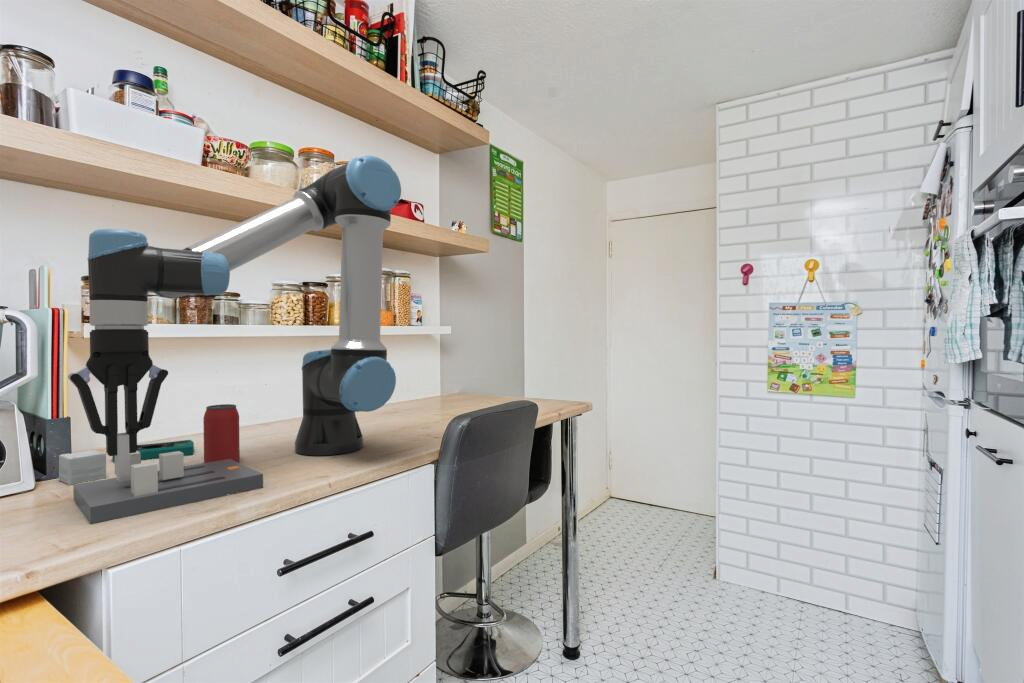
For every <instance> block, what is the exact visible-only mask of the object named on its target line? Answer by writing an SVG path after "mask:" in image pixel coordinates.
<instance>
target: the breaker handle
mask: <svg viewBox="0 0 1024 683" xmlns="http://www.w3.org/2000/svg"><path fill="white" fill-rule="evenodd" d="M184 457H185V456H183V453H182V452H180V451H176V452H169V453H162V454H159V458H158V471H159V477H160V478H161V479H162V480H166V479H172V478H178V477H183V476H184V466H185V465H184V462H185V461H184V460H185V459H184Z"/></svg>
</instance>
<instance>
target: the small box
mask: <svg viewBox="0 0 1024 683" xmlns="http://www.w3.org/2000/svg"><path fill="white" fill-rule="evenodd" d="M70 453H71V454H70ZM70 453H62V454H59V456H58V481H59V482H60V481H61V482H63V483H65V484H67V485H69V486H73V485H75V484H78V483H79V484H81V483H83V482H84V483H87V482H88V481H89V482H94V481H100V480H105V479H107V452H106V453H105V452H103V451H99V450H95V449H92V450H91V449H90V450H85V451H84V450H83V451H77V452H70Z"/></svg>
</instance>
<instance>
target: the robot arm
mask: <svg viewBox="0 0 1024 683" xmlns="http://www.w3.org/2000/svg"><path fill="white" fill-rule="evenodd" d="M401 196H402V186H401V180H400V178H399V176H398V174H397V172H396V171H394V169H393V168H392V166H391V165H390V163H388V162H387V161H385V160H384V159H382V158H380V157H378V156H374V155H364V156H361V157H354V158H352V159H351V160H350V161H349V162H347V163H344V164H343V165H340V166H338V167H335V168H334V169H332V170H329V171H327V172H326V173H325V174H323V175H322V176H320V177H319V178H318V179H316V180H315V181H313V182H312V183H310V184H308V185H307V186H305V187H303V188H301V189H299V190H297V191H295V192H294V194H293V196H292V198H291V199H289V200H287V201H285V202H282V203H280V204H278V205H275V206H273V207H272V208H269V209H267V210H265V211H263V212H260V213H258V214H256V215H255V216H252V217H250V218H248V219H245V220H243V221H241V222H239V223H236V224H234V225H232V226H231V227H228V228H226V229H224V230H222V231H219V232H217V233H215V234H213V235H211V236H208V237H206V238H204V239H202V240H200V241H198V242H195V243H193V244H191V245H189V246H187V247H185V248H183V249H177V248H175V249H173V248H162V247H155V246H152V245H150V246H149V243H148V241H147V240H148V239H147V238H148V237H147V236H146V235H145V234H143V233H141V232H139V231H133V230H131V231H130V230H128V229H119V228H118V229H116V228H101V229H100V228H99V229H96V230H94V231H93V232H91V233H89V236H88V257H87V258H86V259H87V268H88V269H87V270H88V271H87V272H88V294H89V297H88V298H89V299H88V300H89V325H90V326H92V327H93V326H94V329H91V330H90V331H89V358H88V359H87V361H86V364H85V367H83V368H81V369H80V370H78V371H77V372H71V373H69V375H68V380H69V381H70V382H71V383H72V384H73V385H74V387H76V388H77V391H78V395H79V398H80V401H81V404H82V407H83V409H84V412H85V415H86V418H87V421H88V424H89V427H90V429H91V431H92V432H94V434H98V435H99V434H100V435H104V436H105V445H106V448H105V449H106V450H105V451H106V455H108V456H109V457H112V456H115V463H114V475H117V476H118V477H121V476H127V475H130V455H129V453H136V451H137V445H138V433H139V432H140V431H142V430H144V429H147V428H150V426H151V425H152V420H153V417H154V414H155V409H156V406H157V402H158V399H159V395H160V390H161V387H162V383H163V382H164V381H165V379H166V378H167V377H168V375H169V371H168V370H167V369H163V368H161V367H158V366H156V365H154V364H153V360H152V358H151V356H150V353H149V352H150V350H149V331H148V330H147V329H145V327H148V325H149V308H148V307H149V306H148V305H149V304H148V302H149V298H148V296H149V295H148V294H149V293H153V294H155V295H156V296H159V297H160V298H165V299H166V298H167V299H172V300H174V299H179V298H180V297H186V296H191V295H204V296H210V295H211V296H217V295H218V296H219V295H223V294H225V293H226V292H227V290H228V288H229V285H230V284H229V283H230V279H231V278H230V275H231V271H233V270H235V269H237V268H240V267H241V266H243V265H245V264H247V263H249V262H251V261H253V260H255V259H257V258H259V257H260V256H263V255H265V254H267V253H268V252H271V251H272V250H274V249H277V248H279V247H282V245H284V244H287V243H289V242H290V241H292V240H295V239H296V238H299V237H300V236H302V235H304V234H306V233H308V232H311V231H314V232H320V231H322V230H324V229H326V228H329V227H332V226H334V225H338V226H339V227H340V228H341V253H340V254H341V255H340V256H341V257H340V289H339V290H340V291H339V294H340V295H339V320H338V321H339V324H338V325H339V326H338V327H339V328H338V329H339V330H338V341H336V342H335V343H334V344H333V345H332V346H331V348H330V349H323V350H314V351H308V352H307V353H305V354H304V355H303V357H302V366H301V371H302V372H301V374H302V375H301V376H302V377H301V378H302V379H301V380H302V419H301V422H300V426H299V429H298V430H297V431H298V432H297V434H296V438H295V441H294V452H295V453H296V454H299V455H302V456H303V455H304V456H333V455H340V454H341V455H342V454H348V453H352V452H355V451H356V452H357V451H358V450H361V449H362V448H363V447H364V438H363V433H362V431H361V428H360V425H359V422H358V418H357V416H356V415H357V414H356V412H357V413H358V412H364V413H368V412H373V411H376V410H378V409H380V408H382V407H384V406H385V404H386V403H387V402H388V401H390V399H392V396H393V393H394V392H395V388H396V385H397V384H396V383H397V378H396V377H397V376H396V372H395V370H394V367H392V366H391V364H390V363H389V361H387V359H388V358H387V356H388V349H387V347H386V346H385V345H384V344H383V343H382V341H381V324H382V323H381V318H382V315H381V313H382V283H383V280H382V279H383V252H384V251H383V247H384V245H383V243H384V231H386V230H387V229H388V228H390V226H391V215H392V214H391V213H392V209H394V208H395V207H396V205H397V204H398V203H399V202H400V199H401ZM148 372H149V373H148ZM147 373H148V378H150V380H149V383H148V386H147V389H146V392H145V396H144V400H143V404H142V407H141V411H140V415H139V419H138V384H139V383H140V381H142V379H143V378H144V377H145V376H146V374H147ZM90 375H92V376H94V378H95V379H97V381H98V382H100V384H102V385H103V390H104V425H103V423H102V421H101V417H100V414H99V411H98V409H97V405H96V402H95V399H94V396H93V394H92V391H91V387H90V386H89V384H88V383H89V382H91V377H90ZM120 386H123V391H124V428H125V429H124V430H125V432H120V433H119V432H118V431H119V426H118V424H119V423H118V419H119V418H118V415H119V414H118V392H119V387H120Z"/></svg>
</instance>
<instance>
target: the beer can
mask: <svg viewBox="0 0 1024 683" xmlns="http://www.w3.org/2000/svg"><path fill="white" fill-rule="evenodd" d="M205 408H206V409H205V411H204V415H203V418H202V420H203V463H208V462H214V461H220V460H226V459H232V460H234V461H236V462H238V461H239V460H240V457H241V456H240V455H241V454H240V414H239V411H238V409H237V405H236V404H234V403H233V404H229V403H227V404H213V405H208V406H206V407H205Z"/></svg>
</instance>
